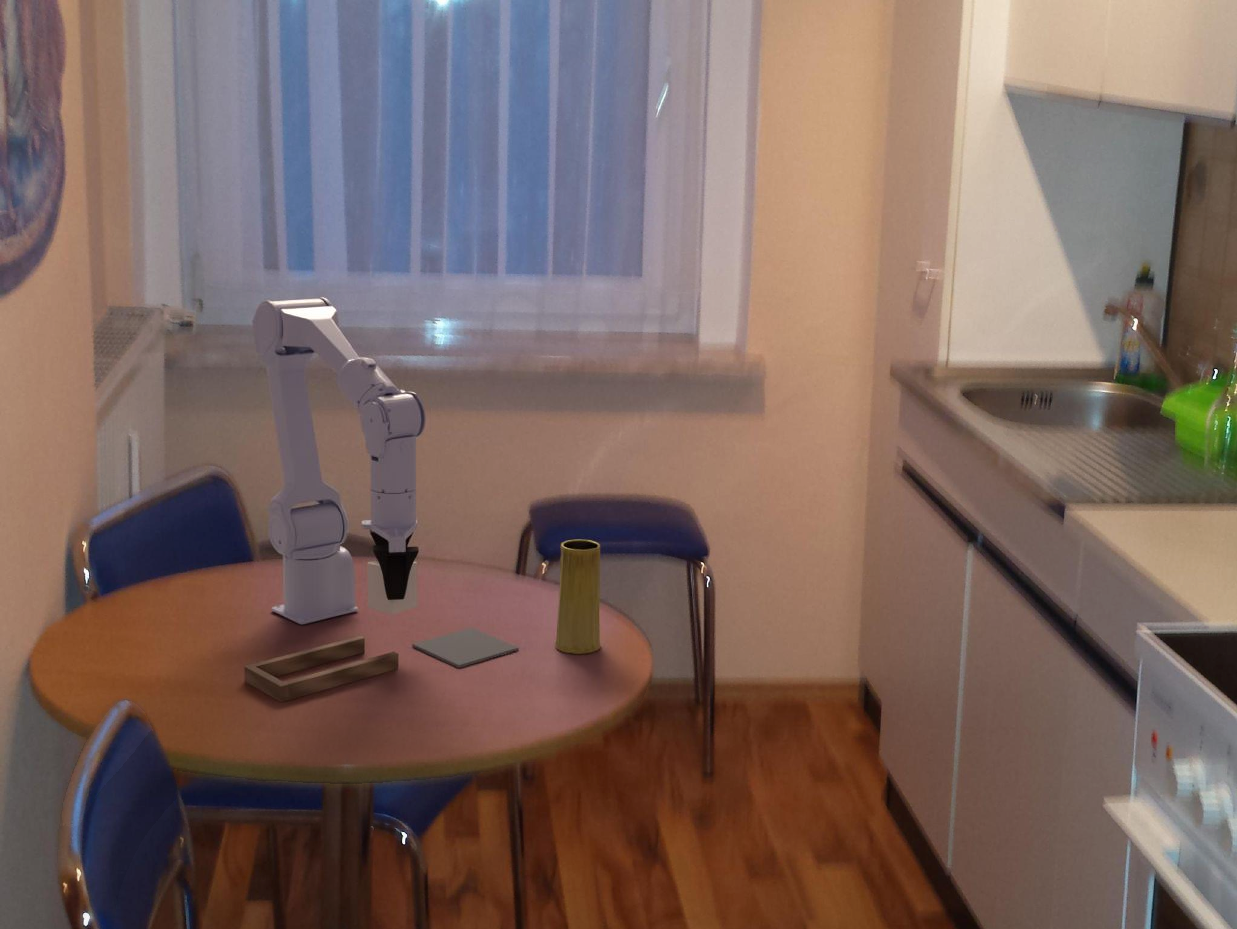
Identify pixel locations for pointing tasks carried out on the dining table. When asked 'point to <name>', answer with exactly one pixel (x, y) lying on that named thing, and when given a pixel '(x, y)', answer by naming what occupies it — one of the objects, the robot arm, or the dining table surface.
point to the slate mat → (465, 647)
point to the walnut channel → (282, 691)
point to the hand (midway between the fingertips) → (393, 590)
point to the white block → (378, 594)
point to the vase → (579, 597)
